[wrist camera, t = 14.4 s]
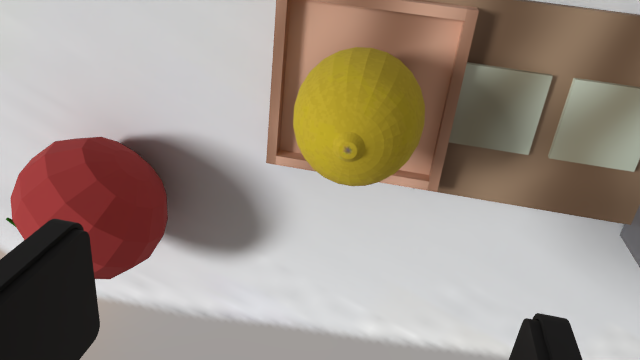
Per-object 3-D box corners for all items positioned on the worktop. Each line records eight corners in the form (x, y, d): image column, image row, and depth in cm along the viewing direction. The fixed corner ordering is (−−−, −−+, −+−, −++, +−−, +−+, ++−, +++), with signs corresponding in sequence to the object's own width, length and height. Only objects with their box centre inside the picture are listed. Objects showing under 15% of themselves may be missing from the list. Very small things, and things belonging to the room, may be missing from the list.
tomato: (74, 194, 23) (-24, 303, 24) (209, 239, 28) (121, 325, 30) (54, 87, 27) (-26, 185, 29) (173, 144, 33) (99, 223, 35)
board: (710, 23, 23) (729, 30, 22) (626, 219, 28) (637, 235, 26) (286, -31, 25) (278, -28, 24) (273, 159, 30) (265, 171, 28)
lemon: (448, 85, 26) (459, 148, 18) (371, 161, 28) (354, 243, 21) (362, 6, 25) (339, 41, 18) (290, 92, 27) (243, 153, 20)
